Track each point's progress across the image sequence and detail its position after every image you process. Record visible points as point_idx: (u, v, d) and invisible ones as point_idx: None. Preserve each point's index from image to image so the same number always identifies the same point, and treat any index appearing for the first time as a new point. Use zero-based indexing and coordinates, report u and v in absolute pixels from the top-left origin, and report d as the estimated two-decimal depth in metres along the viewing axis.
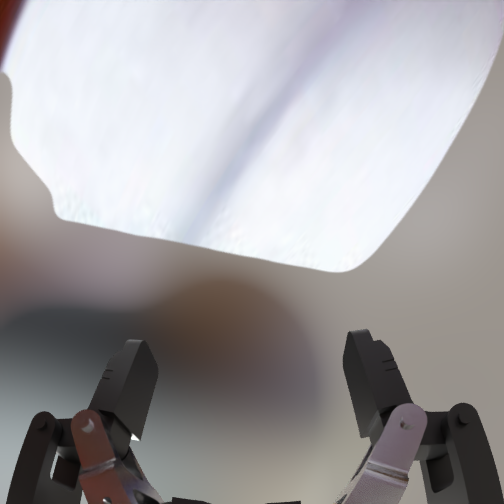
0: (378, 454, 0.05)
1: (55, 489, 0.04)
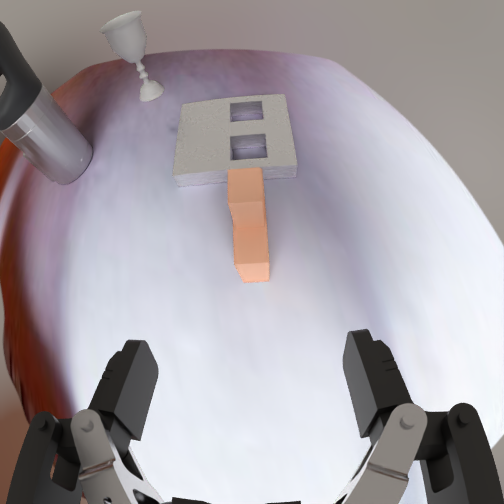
0: (378, 454, 0.05)
1: (55, 489, 0.04)
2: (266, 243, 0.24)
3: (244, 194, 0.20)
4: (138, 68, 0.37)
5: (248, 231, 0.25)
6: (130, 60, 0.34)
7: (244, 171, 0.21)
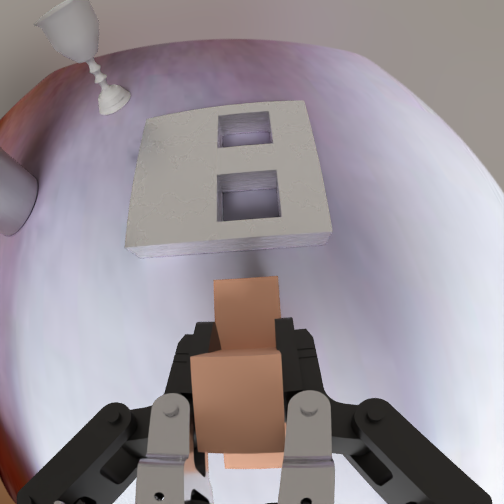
0: (291, 447, 0.06)
1: (100, 481, 0.05)
2: None
3: (239, 435, 0.06)
4: (91, 69, 0.24)
5: None
6: (77, 59, 0.20)
7: (237, 366, 0.07)
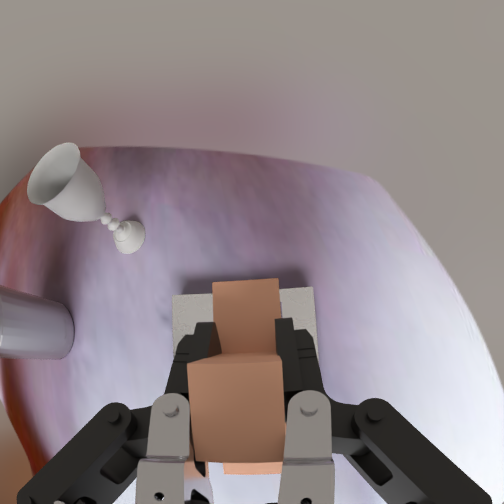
0: (291, 447, 0.06)
1: (100, 481, 0.05)
2: None
3: (238, 444, 0.06)
4: (103, 221, 0.30)
5: None
6: None
7: (235, 373, 0.07)
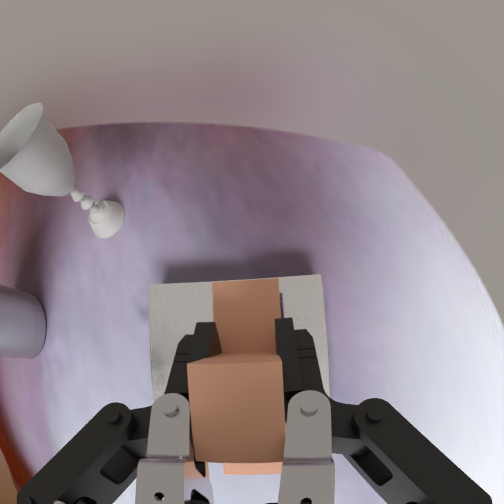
0: (291, 447, 0.06)
1: (100, 481, 0.05)
2: None
3: (238, 444, 0.06)
4: (74, 198, 0.24)
5: None
6: None
7: (235, 374, 0.07)
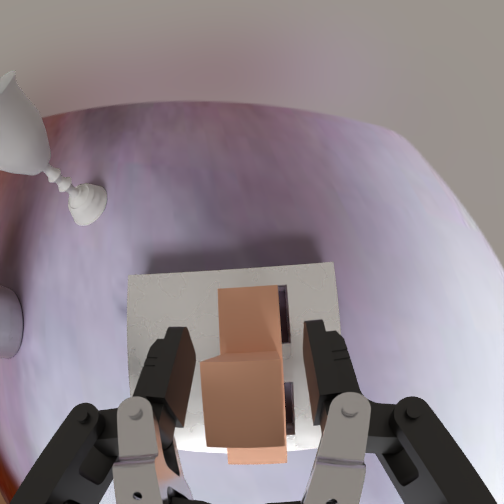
0: (327, 447, 0.05)
1: (80, 482, 0.05)
2: (283, 435, 0.11)
3: (243, 431, 0.07)
4: (49, 178, 0.20)
5: None
6: (26, 174, 0.17)
7: (241, 370, 0.08)
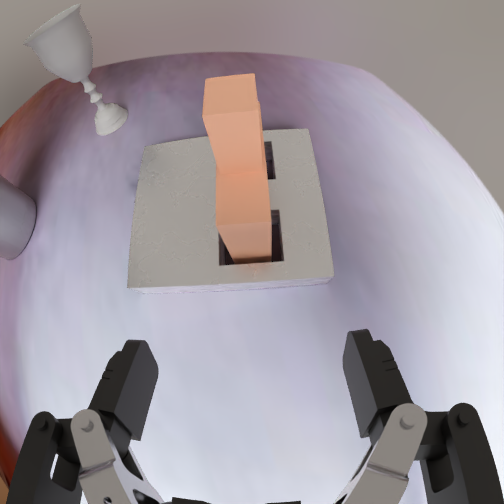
0: (378, 454, 0.05)
1: (55, 489, 0.04)
2: (266, 193, 0.15)
3: (230, 103, 0.11)
4: (86, 89, 0.24)
5: (239, 178, 0.16)
6: (71, 79, 0.20)
7: (230, 78, 0.12)
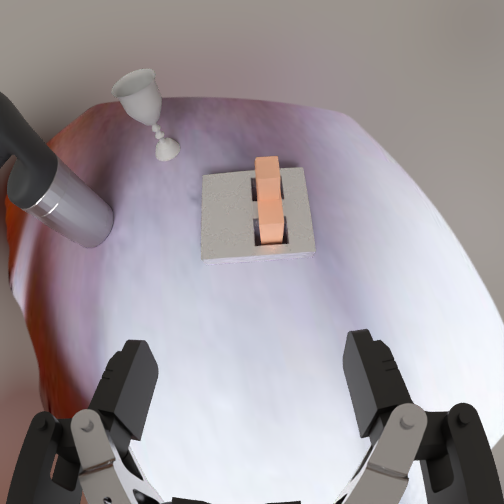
0: (378, 454, 0.05)
1: (55, 489, 0.04)
2: (281, 210, 0.33)
3: (268, 173, 0.29)
4: (154, 129, 0.42)
5: (268, 202, 0.34)
6: (146, 123, 0.39)
7: (267, 158, 0.30)
